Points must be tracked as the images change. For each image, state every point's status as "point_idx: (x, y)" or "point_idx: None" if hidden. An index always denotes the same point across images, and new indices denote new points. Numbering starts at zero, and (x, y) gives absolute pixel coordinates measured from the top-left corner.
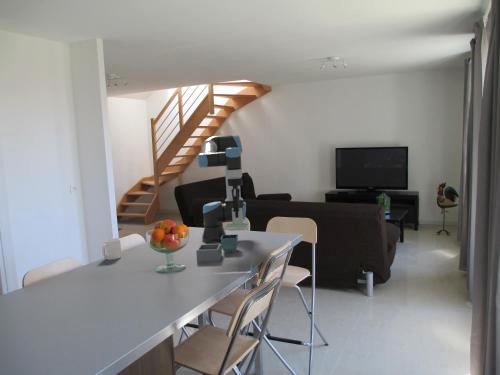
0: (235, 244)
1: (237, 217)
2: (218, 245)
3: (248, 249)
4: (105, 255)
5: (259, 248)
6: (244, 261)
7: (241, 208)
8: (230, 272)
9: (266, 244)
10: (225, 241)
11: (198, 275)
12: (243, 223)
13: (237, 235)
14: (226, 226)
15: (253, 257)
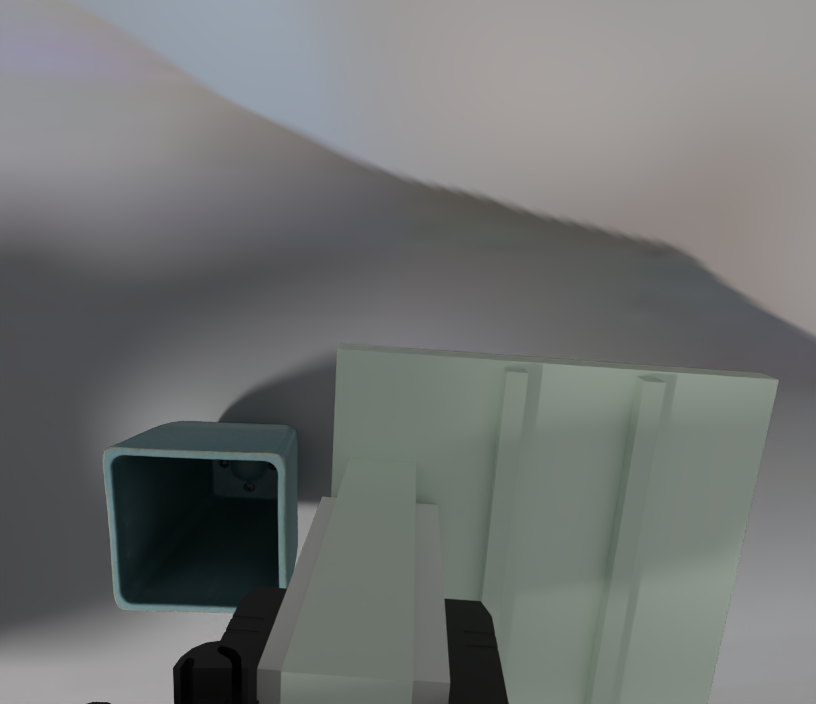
0: (295, 447)
1: (480, 618)
2: None
3: (177, 310)
4: None
5: (156, 207)
6: (549, 348)
7: (409, 680)
8: (802, 448)
9: (9, 129)
10: (291, 554)
11: (791, 645)
12: (387, 445)
13: (161, 451)
14: (607, 700)
15: (450, 272)
